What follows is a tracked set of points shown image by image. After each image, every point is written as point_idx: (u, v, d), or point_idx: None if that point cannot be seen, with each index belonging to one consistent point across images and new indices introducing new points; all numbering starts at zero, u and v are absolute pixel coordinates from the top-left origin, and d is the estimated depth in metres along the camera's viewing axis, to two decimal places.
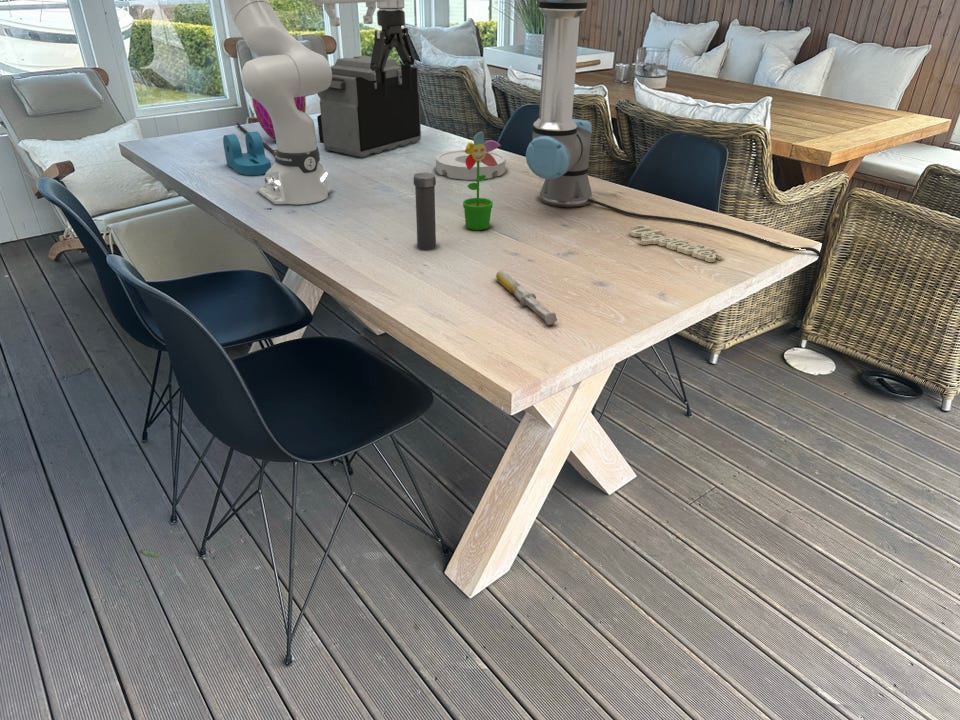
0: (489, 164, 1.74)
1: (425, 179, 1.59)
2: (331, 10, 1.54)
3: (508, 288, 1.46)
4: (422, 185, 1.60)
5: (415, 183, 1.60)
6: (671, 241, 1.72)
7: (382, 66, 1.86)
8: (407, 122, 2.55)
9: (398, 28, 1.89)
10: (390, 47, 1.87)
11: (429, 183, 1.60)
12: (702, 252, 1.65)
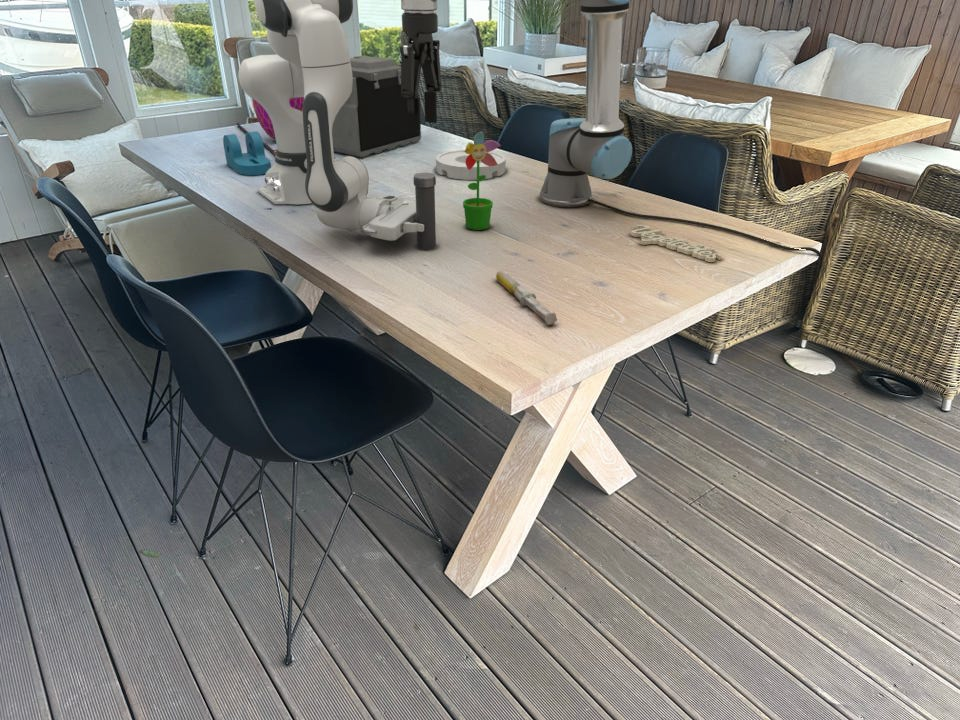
0: (489, 164, 1.74)
1: (425, 179, 1.59)
2: None
3: (508, 288, 1.46)
4: (422, 185, 1.60)
5: (415, 183, 1.60)
6: (671, 241, 1.72)
7: None
8: (407, 122, 2.55)
9: None
10: None
11: (429, 183, 1.60)
12: (702, 252, 1.65)
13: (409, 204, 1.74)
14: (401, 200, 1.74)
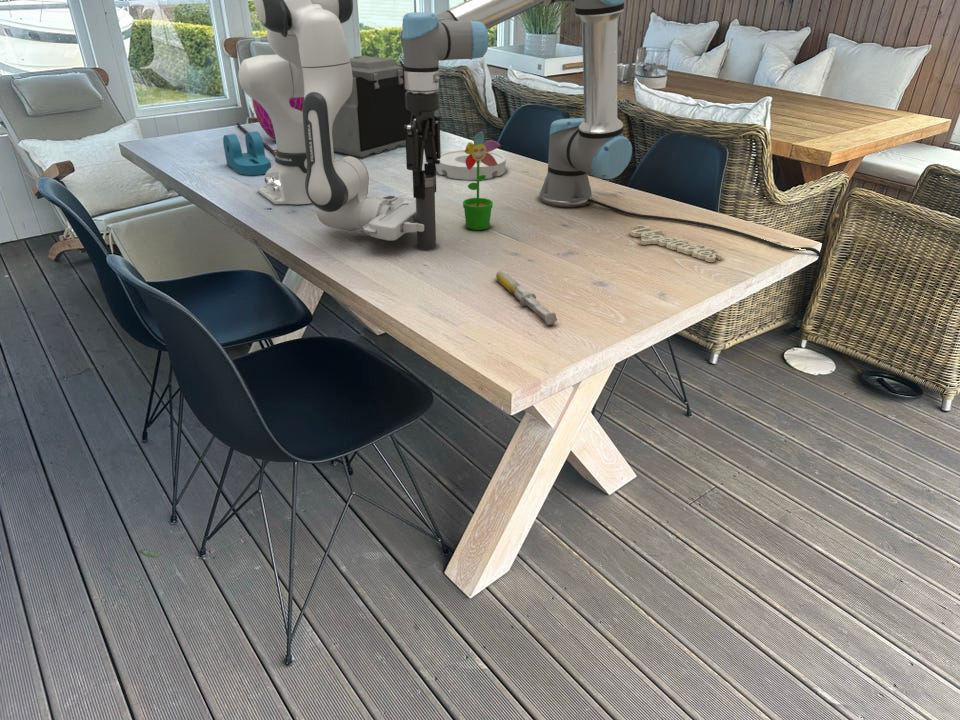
0: (489, 164, 1.74)
1: (425, 179, 1.59)
2: None
3: (508, 288, 1.46)
4: None
5: None
6: (671, 241, 1.72)
7: None
8: (407, 122, 2.55)
9: None
10: None
11: (429, 183, 1.60)
12: (702, 252, 1.65)
13: (409, 204, 1.73)
14: (401, 200, 1.74)
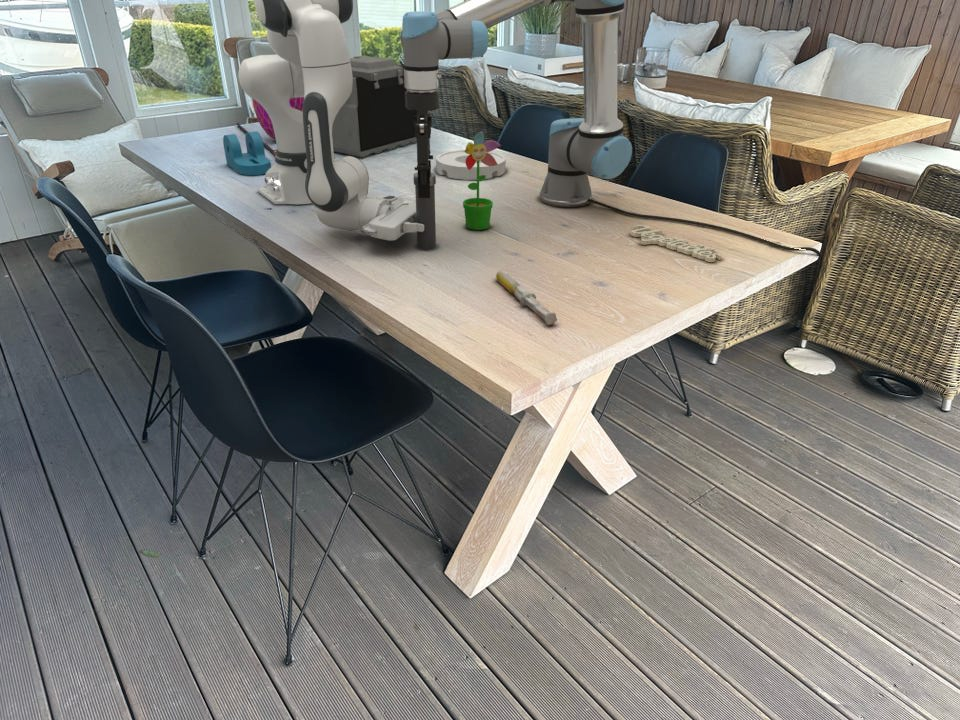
0: (489, 164, 1.74)
1: (434, 176, 1.60)
2: None
3: (508, 288, 1.46)
4: (434, 183, 1.61)
5: None
6: (671, 241, 1.72)
7: None
8: (407, 122, 2.55)
9: None
10: None
11: (434, 179, 1.62)
12: (702, 252, 1.65)
13: (409, 204, 1.74)
14: (401, 200, 1.74)
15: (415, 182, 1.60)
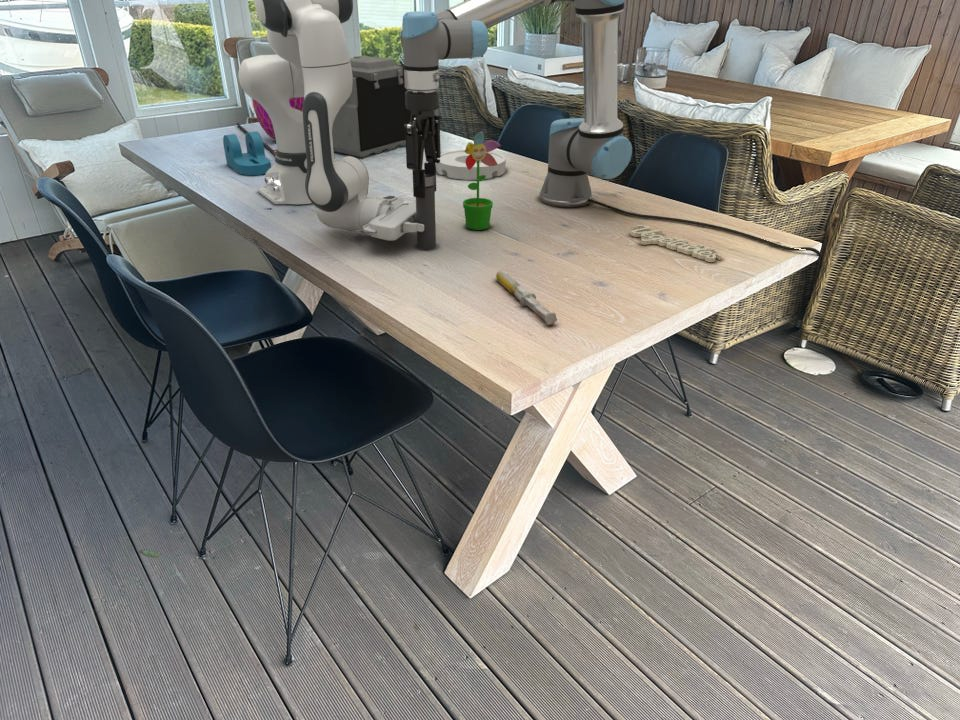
0: (489, 164, 1.74)
1: (434, 176, 1.60)
2: None
3: (508, 288, 1.46)
4: (434, 183, 1.61)
5: (426, 183, 1.59)
6: (671, 241, 1.72)
7: None
8: (407, 122, 2.55)
9: None
10: None
11: (435, 179, 1.62)
12: (702, 252, 1.65)
13: (409, 204, 1.73)
14: (401, 200, 1.74)
15: None
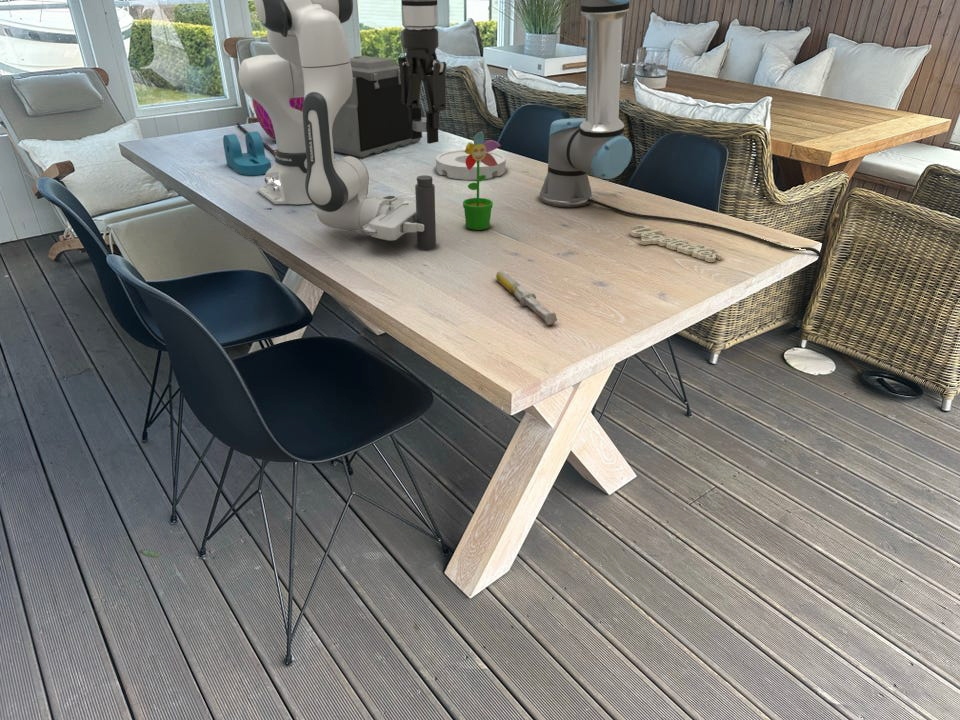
0: (489, 164, 1.74)
1: None
2: None
3: (508, 288, 1.46)
4: None
5: None
6: (671, 241, 1.72)
7: (408, 102, 1.55)
8: (407, 122, 2.55)
9: (422, 53, 1.46)
10: (409, 76, 1.50)
11: None
12: (702, 252, 1.65)
13: (409, 204, 1.73)
14: (401, 200, 1.74)
15: (425, 128, 1.53)
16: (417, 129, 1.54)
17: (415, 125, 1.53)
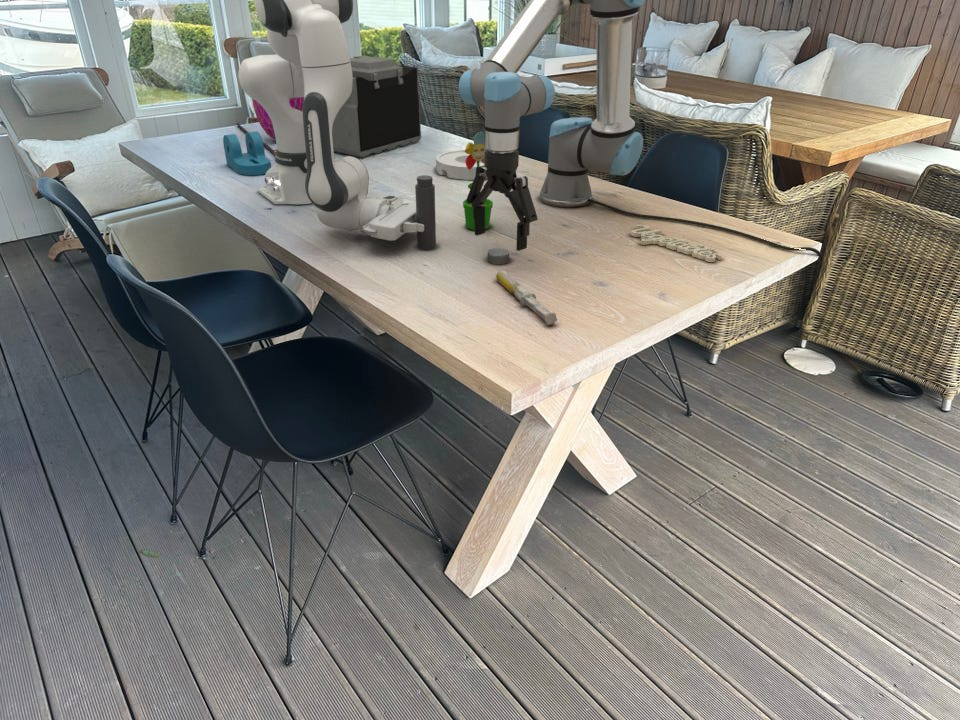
0: None
1: None
2: None
3: (508, 288, 1.46)
4: None
5: (508, 258, 1.62)
6: (671, 241, 1.72)
7: (474, 202, 1.61)
8: (407, 122, 2.55)
9: (503, 173, 1.50)
10: (484, 187, 1.56)
11: None
12: (702, 252, 1.65)
13: (409, 204, 1.73)
14: (401, 200, 1.74)
15: (500, 261, 1.60)
16: (492, 262, 1.60)
17: (490, 258, 1.60)
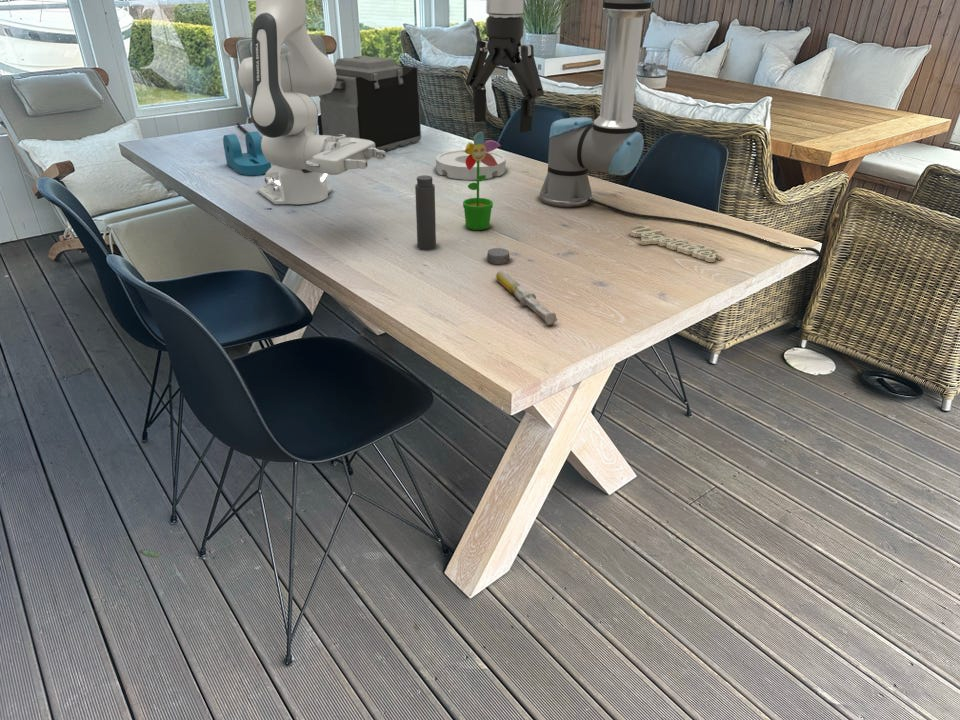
0: (489, 164, 1.74)
1: None
2: None
3: (508, 288, 1.46)
4: None
5: (508, 258, 1.62)
6: (671, 241, 1.72)
7: (474, 83, 1.47)
8: (407, 122, 2.55)
9: (507, 43, 1.37)
10: (485, 63, 1.42)
11: None
12: (702, 252, 1.65)
13: (357, 142, 1.70)
14: (349, 139, 1.71)
15: (500, 261, 1.60)
16: (492, 262, 1.60)
17: (490, 258, 1.60)
